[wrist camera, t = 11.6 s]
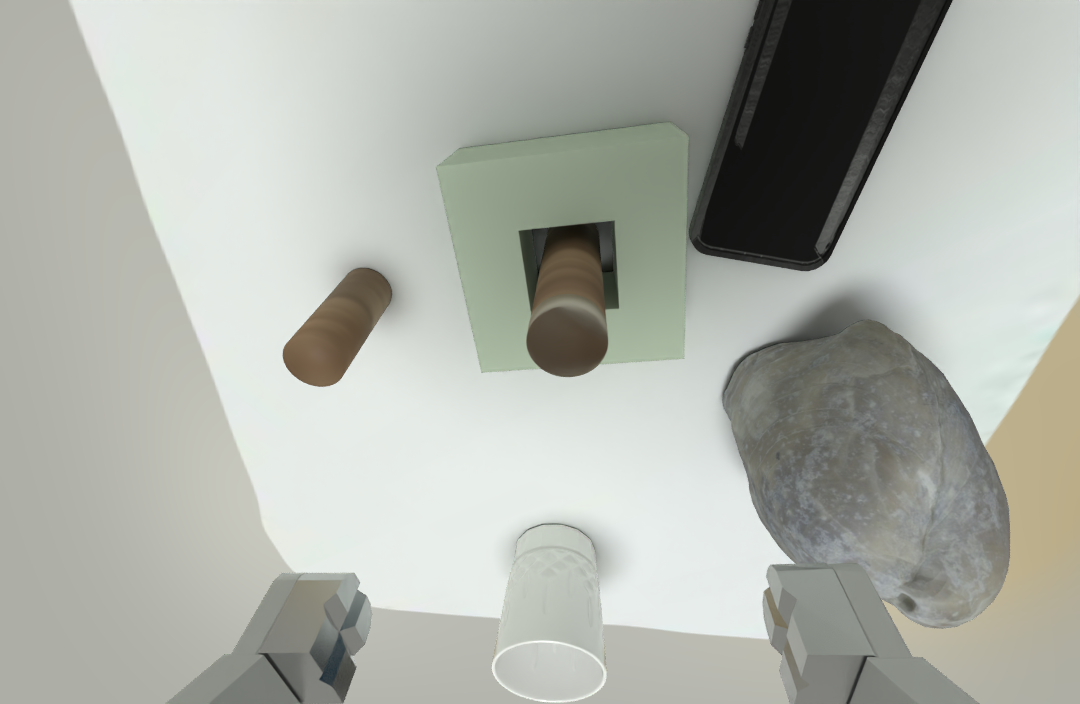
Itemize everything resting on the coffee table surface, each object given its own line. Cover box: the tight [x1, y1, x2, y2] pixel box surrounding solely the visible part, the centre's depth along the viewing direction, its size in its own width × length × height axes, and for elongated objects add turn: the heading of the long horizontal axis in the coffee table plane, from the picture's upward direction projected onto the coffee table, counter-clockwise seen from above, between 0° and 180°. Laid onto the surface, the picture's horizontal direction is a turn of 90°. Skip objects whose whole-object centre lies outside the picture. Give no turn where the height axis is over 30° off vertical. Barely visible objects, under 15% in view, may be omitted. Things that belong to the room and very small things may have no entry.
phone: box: [689, 0, 953, 271], centre depth 25 cm, size 8×1×15 cm
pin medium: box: [283, 268, 392, 387], centre depth 28 cm, size 3×3×8 cm
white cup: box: [492, 524, 607, 703], centre depth 39 cm, size 8×8×10 cm
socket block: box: [436, 122, 689, 373], centre depth 27 cm, size 11×11×5 cm
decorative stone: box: [723, 320, 1010, 629], centre depth 27 cm, size 15×10×15 cm
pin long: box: [526, 223, 608, 377], centre depth 24 cm, size 3×3×12 cm
